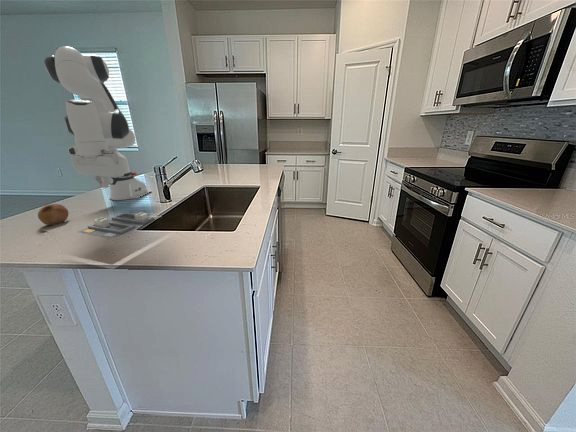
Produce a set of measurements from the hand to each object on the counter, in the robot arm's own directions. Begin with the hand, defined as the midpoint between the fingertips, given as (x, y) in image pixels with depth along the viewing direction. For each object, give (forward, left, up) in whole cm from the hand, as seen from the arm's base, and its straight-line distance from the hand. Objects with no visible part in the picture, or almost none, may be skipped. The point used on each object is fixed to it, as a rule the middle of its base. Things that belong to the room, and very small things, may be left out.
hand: (104, 187), depth 91 cm
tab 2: (-10, +4, -17) cm, 20 cm away
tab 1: (0, -6, -17) cm, 18 cm away
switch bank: (-5, -1, -18) cm, 19 cm away
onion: (+2, -30, -18) cm, 35 cm away
